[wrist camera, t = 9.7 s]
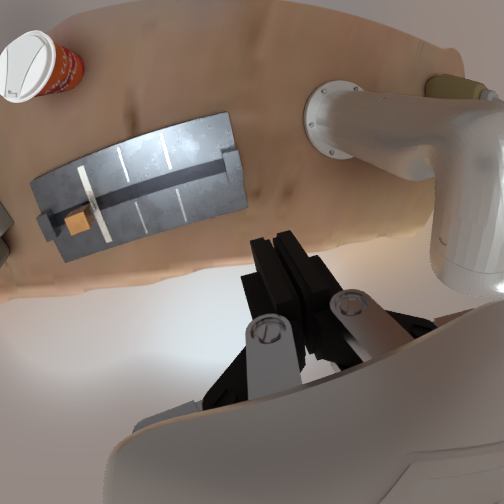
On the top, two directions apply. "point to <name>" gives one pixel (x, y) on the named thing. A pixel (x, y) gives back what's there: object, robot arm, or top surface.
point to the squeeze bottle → (458, 89)
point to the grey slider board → (144, 186)
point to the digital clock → (3, 221)
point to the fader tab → (80, 219)
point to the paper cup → (37, 68)
